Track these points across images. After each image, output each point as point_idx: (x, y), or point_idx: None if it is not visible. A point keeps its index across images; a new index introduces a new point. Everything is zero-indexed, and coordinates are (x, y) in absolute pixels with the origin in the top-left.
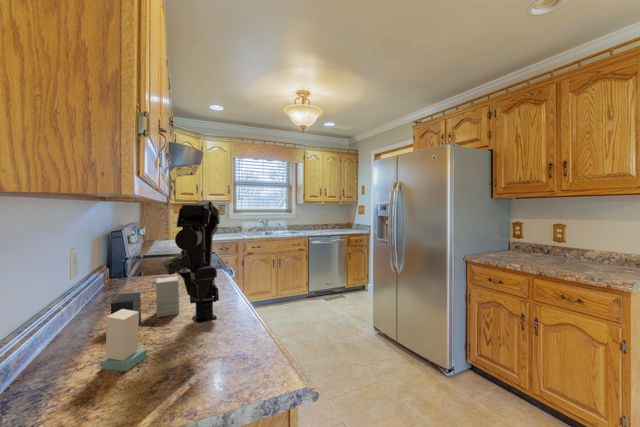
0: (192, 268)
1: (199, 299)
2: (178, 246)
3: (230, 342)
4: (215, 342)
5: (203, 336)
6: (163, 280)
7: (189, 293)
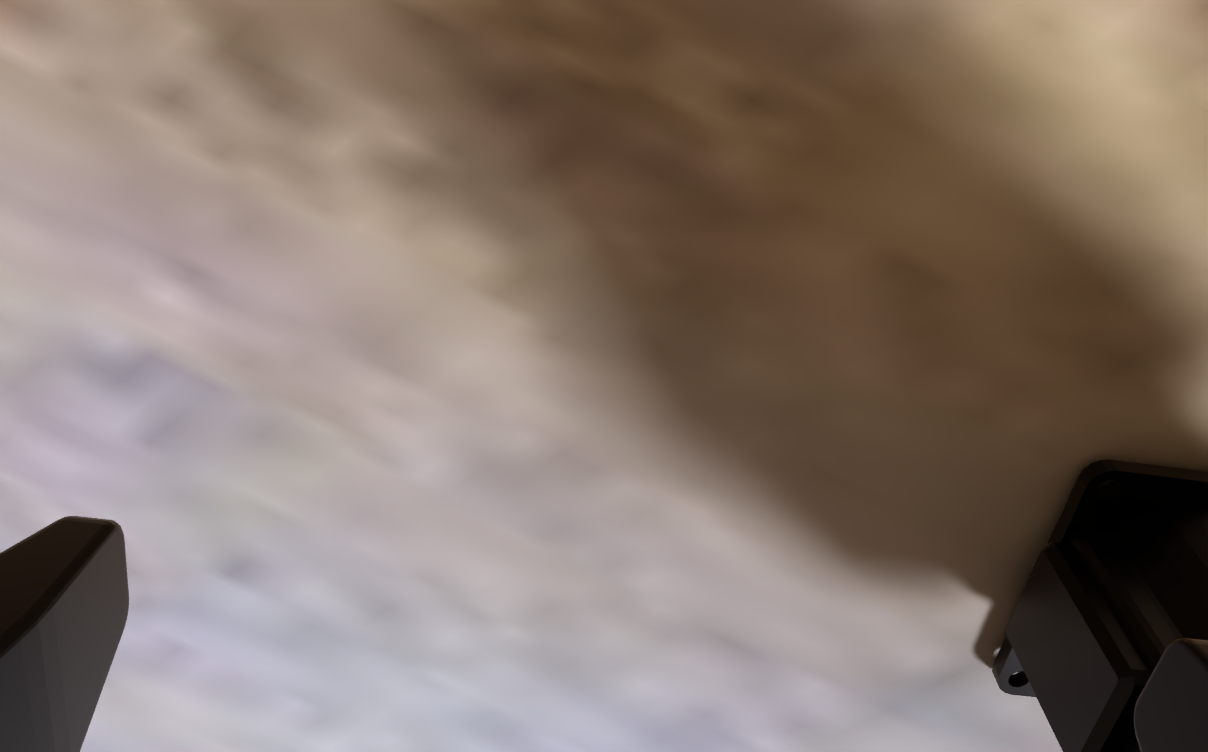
0: None
1: (9, 570)
2: None
3: (85, 397)
4: (230, 273)
5: (571, 269)
6: None
7: (1182, 699)
